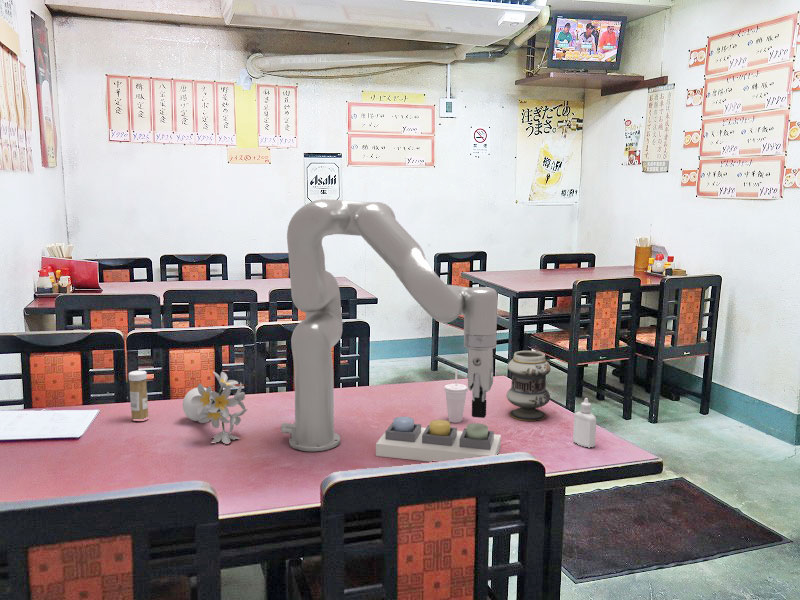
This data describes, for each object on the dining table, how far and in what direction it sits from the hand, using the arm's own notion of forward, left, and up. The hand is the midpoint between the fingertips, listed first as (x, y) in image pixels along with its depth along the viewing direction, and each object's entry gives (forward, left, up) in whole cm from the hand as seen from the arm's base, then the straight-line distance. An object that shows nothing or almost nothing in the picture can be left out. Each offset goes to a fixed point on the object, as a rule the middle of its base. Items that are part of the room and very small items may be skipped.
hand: (478, 416), depth 156 cm
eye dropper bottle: (+25, +14, -10) cm, 30 cm away
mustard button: (-9, 0, -5) cm, 11 cm away
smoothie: (-9, +23, -10) cm, 27 cm away
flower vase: (-69, -2, -10) cm, 70 cm away
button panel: (-9, 0, -10) cm, 13 cm away
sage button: (0, 0, -5) cm, 5 cm away
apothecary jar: (+10, +33, -10) cm, 36 cm away
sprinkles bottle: (-92, 0, -10) cm, 93 cm away
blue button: (-18, 0, -5) cm, 19 cm away
